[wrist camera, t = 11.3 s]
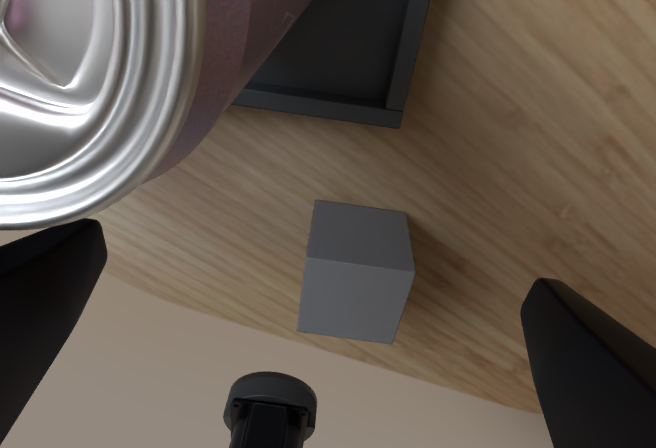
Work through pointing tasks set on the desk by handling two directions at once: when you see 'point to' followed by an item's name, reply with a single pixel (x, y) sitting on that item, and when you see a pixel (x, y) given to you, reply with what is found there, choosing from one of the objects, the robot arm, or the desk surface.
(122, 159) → the beverage can
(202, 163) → the desk surface
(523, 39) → the desk surface
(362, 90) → the tray
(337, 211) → the grey block
